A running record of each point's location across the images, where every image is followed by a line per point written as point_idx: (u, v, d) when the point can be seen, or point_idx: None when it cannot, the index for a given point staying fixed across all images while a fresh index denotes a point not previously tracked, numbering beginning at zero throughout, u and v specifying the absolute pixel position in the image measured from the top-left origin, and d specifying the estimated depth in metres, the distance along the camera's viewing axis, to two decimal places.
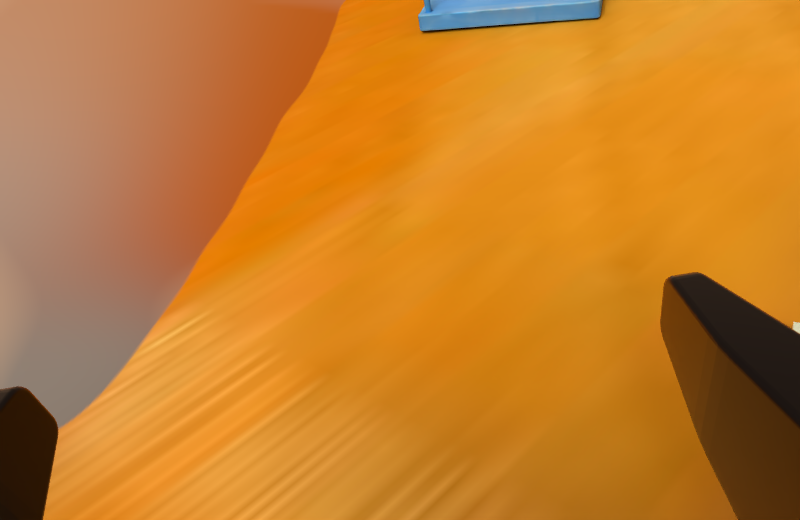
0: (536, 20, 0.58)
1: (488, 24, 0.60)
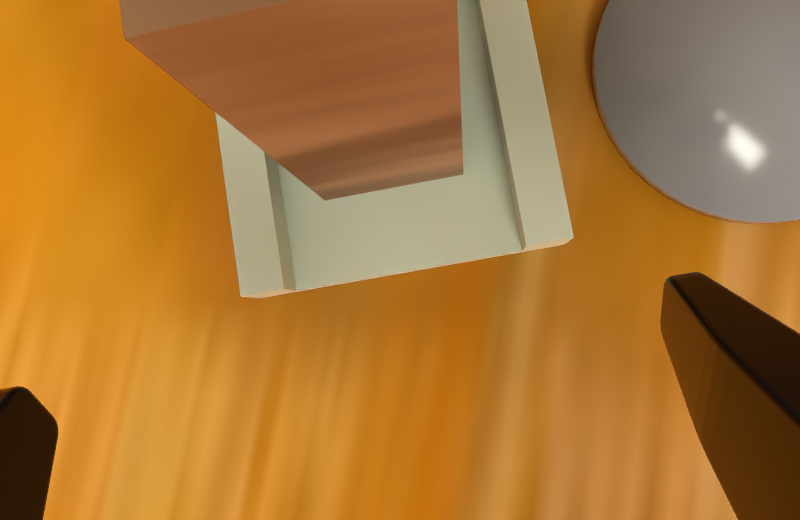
0: None
1: None
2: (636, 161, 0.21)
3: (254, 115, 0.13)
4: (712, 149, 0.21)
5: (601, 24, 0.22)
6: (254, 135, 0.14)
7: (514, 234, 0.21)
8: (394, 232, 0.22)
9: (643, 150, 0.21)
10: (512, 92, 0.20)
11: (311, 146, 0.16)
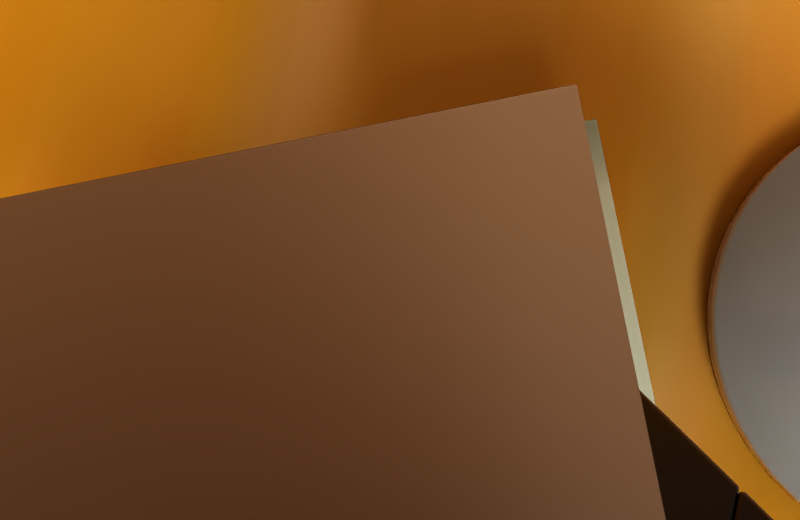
0: None
1: None
2: (780, 476, 0.14)
3: None
4: None
5: (724, 264, 0.15)
6: None
7: None
8: None
9: (790, 459, 0.14)
10: None
11: None
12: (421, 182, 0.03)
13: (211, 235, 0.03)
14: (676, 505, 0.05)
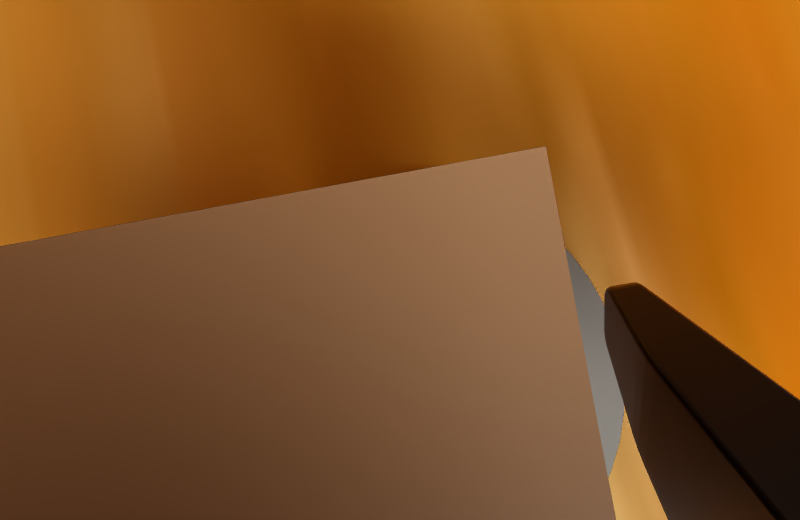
0: None
1: None
2: None
3: None
4: None
5: None
6: None
7: None
8: None
9: None
10: None
11: None
12: (428, 219, 0.04)
13: (267, 257, 0.04)
14: None
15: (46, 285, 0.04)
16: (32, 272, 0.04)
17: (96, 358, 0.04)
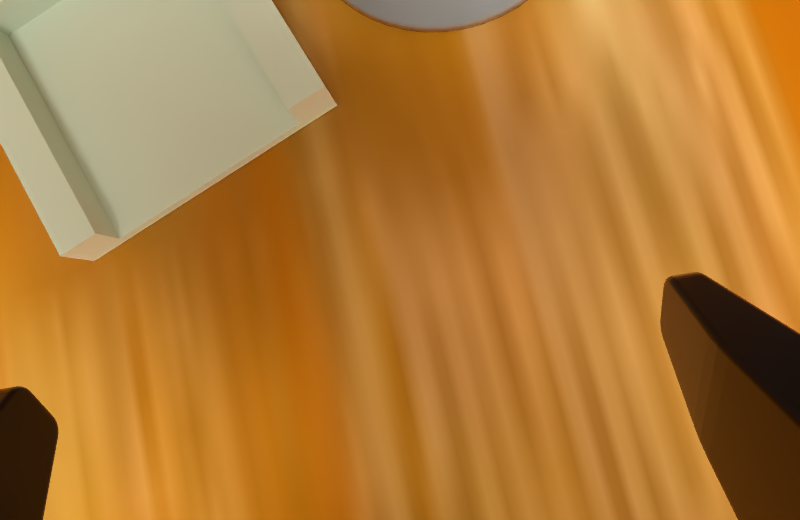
0: None
1: None
2: (365, 7, 0.23)
3: None
4: None
5: None
6: None
7: (287, 111, 0.23)
8: (185, 153, 0.23)
9: None
10: None
11: None
12: None
13: None
14: None
15: None
16: None
17: None
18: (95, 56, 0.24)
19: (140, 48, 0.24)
